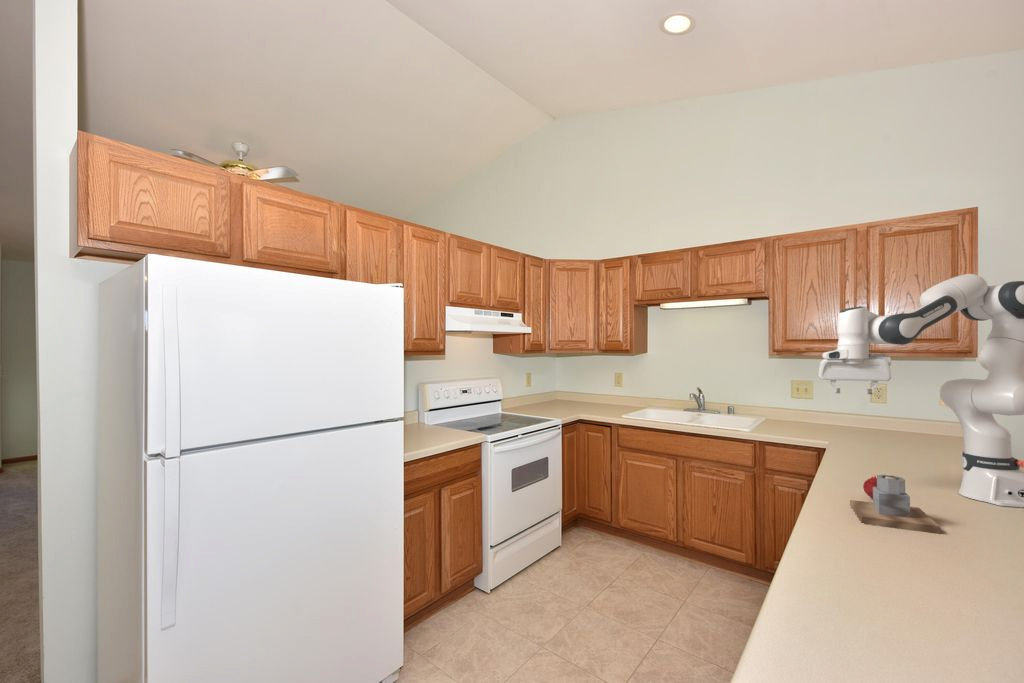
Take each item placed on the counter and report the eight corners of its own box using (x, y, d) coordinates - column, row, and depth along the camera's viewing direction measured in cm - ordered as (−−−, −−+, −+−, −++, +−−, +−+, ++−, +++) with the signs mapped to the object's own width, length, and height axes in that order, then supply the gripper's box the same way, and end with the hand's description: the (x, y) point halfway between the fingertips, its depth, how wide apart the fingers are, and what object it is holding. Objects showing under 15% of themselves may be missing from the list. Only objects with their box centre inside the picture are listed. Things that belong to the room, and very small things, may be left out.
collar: (900, 489, 137) (900, 476, 137) (907, 495, 132) (907, 481, 132) (875, 487, 140) (875, 474, 140) (880, 493, 134) (880, 479, 134)
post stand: (919, 514, 139) (918, 474, 139) (939, 533, 125) (938, 488, 125) (850, 506, 147) (849, 468, 147) (861, 523, 132) (860, 481, 132)
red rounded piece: (889, 503, 149) (889, 478, 149) (869, 502, 150) (869, 477, 151) (879, 497, 155) (878, 473, 155) (859, 496, 156) (859, 472, 156)
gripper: (888, 353, 159) (889, 394, 159) (817, 353, 168) (817, 391, 168) (893, 353, 153) (894, 395, 153) (819, 353, 162) (820, 393, 162)
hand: (853, 393), depth 160 cm, fingers open, 8 cm apart
